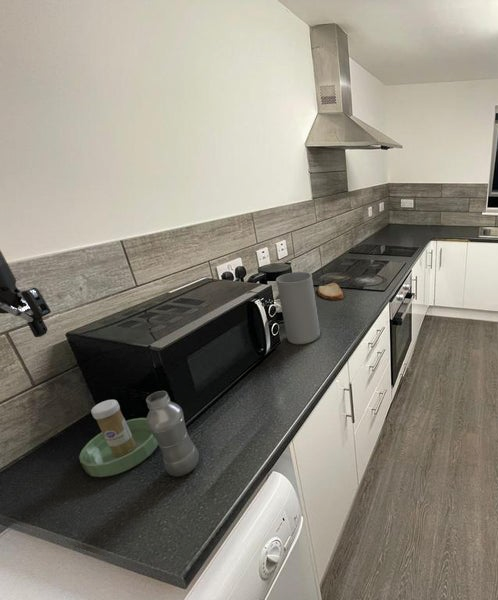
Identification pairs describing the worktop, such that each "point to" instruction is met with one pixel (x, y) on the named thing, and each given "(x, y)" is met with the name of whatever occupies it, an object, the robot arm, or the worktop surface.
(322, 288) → the slice of bread
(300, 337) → the cylinder vase
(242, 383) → the worktop surface
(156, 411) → the plastic bottle
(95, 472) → the bowl
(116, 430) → the sprinkles bottle
